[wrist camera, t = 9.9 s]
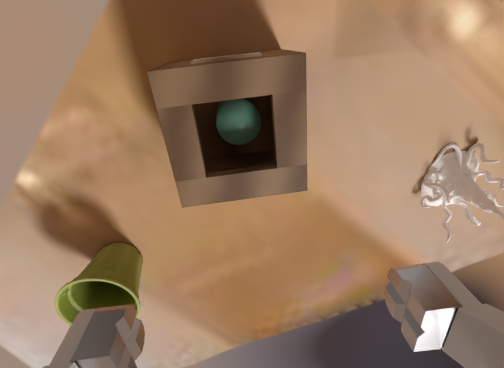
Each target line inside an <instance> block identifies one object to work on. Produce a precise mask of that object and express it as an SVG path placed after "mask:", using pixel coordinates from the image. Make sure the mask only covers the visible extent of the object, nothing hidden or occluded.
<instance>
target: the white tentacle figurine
mask: <svg viewBox="0 0 504 368" xmlns="http://www.w3.org/2000/svg"><path fill="white" fill-rule="evenodd" d="M451 147H452V148H454V149H455V151H454V152H450V153H447V154H444V155H443V153H444V152H445V151H446V150H447V149H449V148H451ZM478 147H479V148H480V160H481V161H482V162H484V163H497V162H500V160H487V159H486V148H485V146H484V145H483V144H481V143H476V144H474V145H472V146H471V147H470V148H469V149H468V151H461V150H460V148H459V146H458V145H457V144H455V143H450V144H448V145H446V146H445V147H444V148H443V149H442V150H441V151H440V153H439V154H438V156H437V158H436V159H435V161H434V162H433V163H432V165H431V167H430V168H429V171H428V173H427V174H426V175H425V176H424V178H423V184H422V186H421V195H422V197H423V198H422V199H421V201H420V204H421V206H422V207H424V208H429V207H431V206H439V205H442V206H441V208H442V210H443V211H444V212H446V213H447V215H446V217H445V218H444V220H443V227H444V228H445V229H446V230H447V233H448V236H447V239H446V242H448V241H449V239H450V237H451V230H450V228H449V226H448V221H449V220H450V218H451V216H452V213H451V211H450V210H449V209H448V208H447V207H446V206H447V205H449V204H456V205H458V206H460V207H462V208H463V209H464V212H465V215H466V217H467V219H468V220H469V221H470V222H471V223H473V224H475V225H478V226H479V225H480V224H481V223H480V222H479V221H478V220H477V219H476V218H475V217H474V216H473V217H472V216H471V214H470V211H469V208H468V206H467V205H465V204H464V203H461V202H460V200H462V201H465V202H467V203H469V204H471V205H473V206H476V207H479V208H481V209H482V210H484V211H487V212H492V211H493V212H495V213H496V214H498V215H500V216H501V217H503V218H504V214H503V213H502V212H501V211H500V210H499V209H498V208H496V207H495V205H497V206H499V207H504V206H503V205H500V204H499V203H497V201H496V198H495V195H494V194H490V195H486V193H485V191H484V190H483V189H481V188H480V187H479V186H478V185H477V184H476V182H475V181H476V177H478V176H480V175H485V179H486V181H487V182H489V183H495V182H499V188H500V189H502V190H504V180H503V179H502V178H492V179H491V176H490V173H489V172H488V171H478V167H479V162H478V157H477V155H476V154H475V153H473V151H474V150H475V149H476V148H478ZM490 199H491V200H492V201H491V200H490ZM424 201H425V203H426V205H428V206H425V205H424Z"/></svg>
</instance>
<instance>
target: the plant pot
mask: <svg viewBox="0 0 504 368" xmlns="http://www.w3.org/2000/svg"><path fill="white" fill-rule="evenodd" d="M142 263H143V258H142V256H141V255H140V253H139V252H138V251H137V249H136V248H135V247H133V246H131V245H129V244H126V243H113V244H110V245H108V246H105V247H103V248H102V249H101V250H100V252H99V253H98V254H97V255H96V256H95V257H94V259H93V260H92V261H91V262H90V263H89V265H88V266H87V267H86V268H85V269H84V270H83V271H82V273H81V274H80V275H79V276H78V277H76V278H75V279H73V280H72V281H71V282H69V283H67V284H66V285H64V286H63V287H62V288H61V289H60V290H59V292H58V293H57V295H56V298H55V308H56V311H57V313H58V315H59V316H60V317H61V318H62V319H63V320H64V321H65V322H66V323H67V324H69V325H72V323H73V321H74V319H75V317H76V316H77V314H78V313H79V312H81V311H82V310H87V309H95V308H103V307H112V306H121V305H134V307H135V308H136V310H137V313H136V316H135V317H136V318H138V316H139V313H140V302H139V295H138V290H139V282H140V276H141V270H142Z"/></svg>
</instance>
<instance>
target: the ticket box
mask: <svg viewBox="0 0 504 368" xmlns="http://www.w3.org/2000/svg"><path fill="white" fill-rule="evenodd" d="M147 74H148V78H149V82H150V86H151V90H152V94H153V97H154V101H155V105H156V109H157V113H158V117H159V120H160V124H161V128H162V132H163V136H164V140H165V144H166V147H167V151H168V155H169V159H170V163H171V167H172V170H173V174H174V178H175V182H176V186H177V190H178V194H179V197H180V201H181V205H182V208H183V207H190V206H198V205H205V204H212V203H220V202H227V201H234V200H241V199H249V198H256V197H263V196H271V195H278V194H285V193H293V192H300V191H307V104H306V53H304V52H297V51H290V50H283V49H279V50H271V51H262V52H251V53H243V54H234V55H225V56H217V57H208V58H200V59H193V60H185V61H176V62H169V63H167V64H164V65H162V66H159V67H157V68H154V69H152V70H150V71H147ZM241 98H250V100H251V101H252V102H253V104H254V105H255V107H256V109H257V110H258V112H259V114H260V117H261V127H260V131H259V133H258V134H257V136H256V137H255V138H254V139H253V140H252V141H250V142H248V143H246V144H242V145H235V144H231V143H229V142H227V141H225V140H224V139H223V138H222V137H221V136H220V134H219V132H218V130H217V126H216V117H217V107H218V104H219V102H220V101H225V100H233V99H241Z"/></svg>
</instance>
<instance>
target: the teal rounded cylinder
mask: <svg viewBox="0 0 504 368" xmlns="http://www.w3.org/2000/svg"><path fill="white" fill-rule="evenodd" d="M216 126H217V130H218V132H219V134H220V136H221V137H222V138H223V139H224V140H225V141H227V142H229V143H231V144H235V145H242V144H246V143H248V142H250V141H252V140H253V139H254V138H255V137H256V136H257V134H258V133H259V131H260V127H261V117H260V114H259V112H258V110H257V109H256V107H255V105H254V104H253V102H252V101H251V100H250V98H241V99H233V100H225V101H220V102H219V104H218V107H217V117H216Z"/></svg>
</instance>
